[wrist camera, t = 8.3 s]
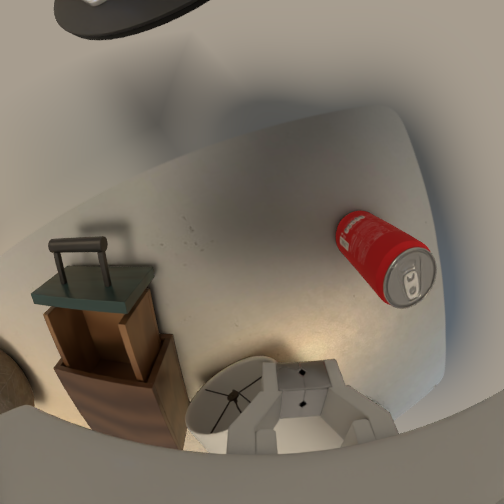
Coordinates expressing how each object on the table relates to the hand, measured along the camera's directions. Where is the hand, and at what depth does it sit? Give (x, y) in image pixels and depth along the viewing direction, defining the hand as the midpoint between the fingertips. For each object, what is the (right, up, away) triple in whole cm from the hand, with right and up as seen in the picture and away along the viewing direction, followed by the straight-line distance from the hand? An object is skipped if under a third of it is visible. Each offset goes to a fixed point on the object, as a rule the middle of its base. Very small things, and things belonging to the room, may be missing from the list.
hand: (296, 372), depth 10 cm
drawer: (-19, -1, +19) cm, 27 cm away
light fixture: (+6, -21, +27) cm, 35 cm away
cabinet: (-18, -13, +24) cm, 33 cm away
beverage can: (+9, +7, +18) cm, 21 cm away
